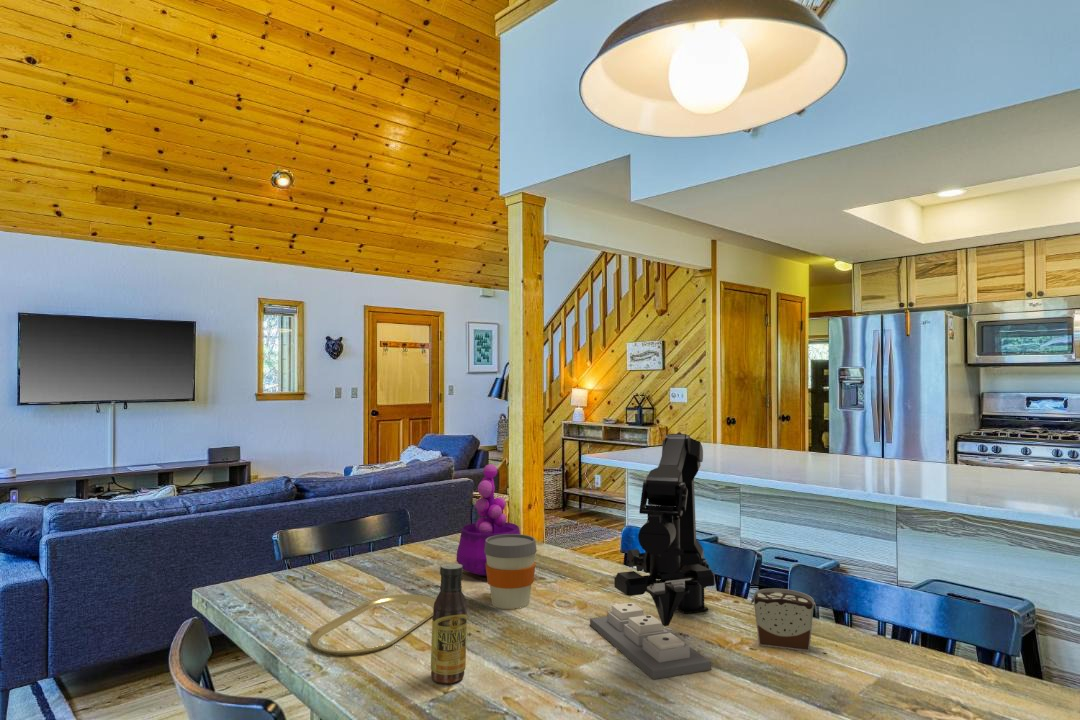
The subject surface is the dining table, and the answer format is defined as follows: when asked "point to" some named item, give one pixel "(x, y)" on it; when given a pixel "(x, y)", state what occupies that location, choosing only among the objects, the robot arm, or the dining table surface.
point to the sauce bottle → (449, 627)
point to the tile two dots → (626, 611)
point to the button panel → (649, 649)
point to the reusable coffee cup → (510, 569)
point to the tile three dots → (645, 624)
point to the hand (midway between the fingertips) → (665, 625)
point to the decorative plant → (483, 526)
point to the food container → (783, 618)
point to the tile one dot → (665, 641)
